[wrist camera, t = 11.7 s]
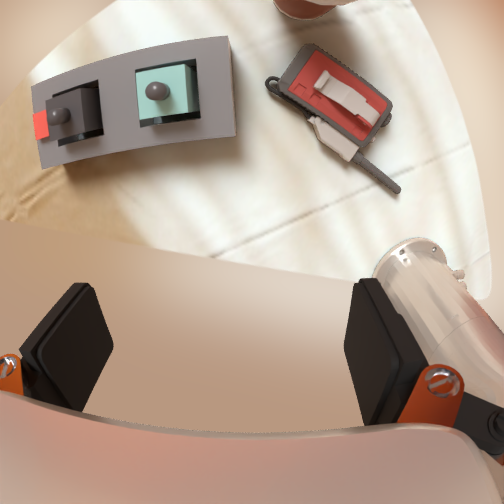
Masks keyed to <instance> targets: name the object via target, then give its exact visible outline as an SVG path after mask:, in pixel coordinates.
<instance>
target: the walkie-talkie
mask: <svg viewBox="0 0 504 504" xmlns="http://www.w3.org/2000/svg"><path fill="white" fill-rule="evenodd" d="M271 80H275V81H277V82H278V83H277V84H276V86H277V90H278V91H277V90H275V89H273V88H272V87H271V86H270V85H269V82H270V81H271ZM265 86H266V87H267V88H268V90H269V91H271V92H273V93H274V94H276V95H278V96H279V97H281V98H283V99H284V100H286V101H287V102H289V103H291V104H292V105H294V106H295V107H297V108H298V109H300V110H301V111H302V112H303V113H304V115H305V116H306V117H307V118H308V119H307V121H309V122H310V123H312V124H313V127H314V130H315V133H316V136H317V138H318V140H320V141H321V142H322V143H324V144H325V145H327V146H328V147H329V148H331V149H332V150H334V151H335V152H336V153H338V154H339V156H340V157H341V158H343V159H344V160H346V161H347V162H349V161H350V160H352V161H353V162H355V163H356V164H359V165H361V166H362V167H363V168H364V169H366V170H367V171H368V172H370V173H371V174H372V175H373V176H375V177H376V178H377V179H378V180H380V181H381V182H382V183H383V184H384V185H386V186H387V187H388V188H389V189H391V190H392V191H393V192H394V193H395V194H399V193H400V192H401V188H400V186H398V185H397V184H396V183H395V182H394V181H393V180H391V179H390V178H389V177H388V176H387V175H385V174H384V173H383V172H382V171H380V170H379V169H378V168H377V167H375V166H374V165H373V164H372V163H370V162H369V161H368V160H367V159H365V158H364V157H363V155H362V154H361V153H360V152H359V151H357V150H358V149H359V147H366V146H367V145H368V144H369V142H370V143H373V142H374V140H375V137H374V135H375V134H376V132H377V131H378V129H379V128H380V127H385V126H386V125H387V124H388V123H389V122H390V120H391V117H392V115H391V113H390V111H391V109H392V107H393V105H392V102H391V101H390V100H389V99H388V98H386V97H385V96H384V95H383V94H382V93H380V92H379V91H378V90H377V89H376V88H374V87H373V86H372V85H371V84H369V83H368V82H367V81H366V80H364V79H363V78H362V77H359V76H358V74H355V73H354V71H351V70H350V68H349V67H348V68H347V67H346V66H345V65H343V64H342V63H341V62H340V61H338V60H337V59H336V58H333V57H332V55H329V54H328V53H327V52H325V51H323V49H320V48H319V47H318V46H315V45H314V44H305V45H304V46H303V47H302V48H301V50H300V51H299V52H298V54H297V55H296V57H295V58H294V60H293V61H292V62H291V64H290V65H289V67H288V68H287V70H286V71H285V72H284V74H283V75H282V77H281V78H278V77H274V76H271V77H269V78H268V79H267V80H266V81H265ZM305 109H307V111H308V112H311V114H313V116H310V115H309V114H308V112H307V111H306V110H305ZM314 115H315V116H314Z"/></svg>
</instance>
